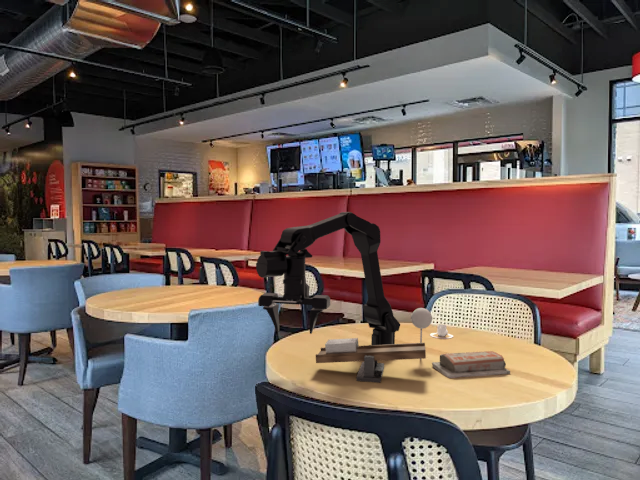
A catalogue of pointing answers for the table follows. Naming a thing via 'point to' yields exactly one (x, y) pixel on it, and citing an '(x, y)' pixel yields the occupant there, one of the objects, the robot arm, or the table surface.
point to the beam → (376, 353)
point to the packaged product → (471, 364)
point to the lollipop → (421, 319)
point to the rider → (342, 346)
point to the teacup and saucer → (441, 331)
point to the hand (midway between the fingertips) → (294, 332)
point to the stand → (370, 370)
